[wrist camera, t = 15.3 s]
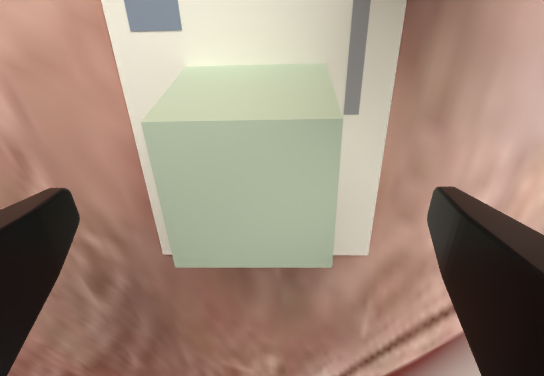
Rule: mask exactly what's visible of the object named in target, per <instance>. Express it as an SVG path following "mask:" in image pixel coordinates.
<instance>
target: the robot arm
mask: <svg viewBox="0 0 544 376" xmlns="http://www.w3.org/2000/svg"><path fill="white" fill-rule="evenodd" d="M79 221H80V217H79V213H78V210H77V207H76V205H75V202H74V199H73V197H72V194H71V192H70V191H69V190H68V189H66V188H49V189H47V190H45V191H42V192H40V193H38V194H36V195H33V196H31V197H29V198H27V199H24V200H22V201H20V202H18V203H15V204H13V205H11V206H9V207H6V208H4V209H2V210H0V376H7V375H8V373H9V371H10V369H11V367H12V365H13V363H14V361H15V359H16V357H17V356H18V354H19V352H20V350H21V348H22V346H23V344H24V342H25V340H26V338H27V336H28V334H29V332H30V330H31V329H32V327H33V325H34V323H35V321H36V319H37V317H38V315H39V313H40V311H41V309H42V307H43V305H44V303H45V302H46V300H47V298H48V296H49V294H50V292H51V290H52V288H53V286H54V284H55V282H56V280H57V278H58V276H59V274H60V271H61V269H62V267H63V264H64V262H65V259H66V256H67V254H68V251H69V249H70V246H71V243H72V241H73V238H74V236H75V233H76V230H77V228H78V225H79ZM427 222H428V227H429V230H430V234H431V238H432V242H433V246H434V249H435V253H436V257H437V261H438V265H439V268H440V272H441V275H442V278H443V281H444V284H445V286H446V289H447V291H448V294H449V296H450V299H451V301H452V304H453V306H454V309H455V311H456V314H457V316H458V319H459V321H460V324H461V326H462V328H463V331H464V333H465V336H466V338H467V341H468V343H469V346H470V348H471V351H472V353H473V356H474V358H475V361H476V363H477V366H478V368H479V371H480V373H481V376H544V235H542V234H541V233H539V232H537V231H535V230H533V229H531V228H529V227H528V226H526V225H524V224H522V223H520V222H518V221H516V220H515V219H513V218H511V217H509V216H507V215H505V214H503V213H502V212H500V211H498V210H496V209H494V208H492V207H490V206H489V205H487V204H485V203H483V202H481V201H479V200H478V199H476V198H474V197H472V196H470V195H468V194H466V193H465V192H463V191H461V190H459V189H457V188H455V187H437V188H435V190H434V191H433V195H432V199H431V203H430V207H429V211H428V216H427Z"/></svg>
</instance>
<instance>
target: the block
mask: <svg viewBox="0 0 544 376" xmlns="http://www.w3.org/2000/svg"><path fill="white" fill-rule="evenodd" d="M141 125H142V129H143V134H144V138H145V142H146V146H147V151H148V155H149V159H150V163H151V168H152V172H153V176H154V180H155V184H156V189H157V193H158V197H159V201H160V206H161V210H162V214H163V218H164V223H165V227H166V231H167V235H168V240H169V244H170V248H171V252H172V257H173V261H174V265H175V268H332V262H333V249H334V235H335V222H336V209H337V196H338V182H339V169H340V156H341V143H342V129H343V116H342V113H341V110H340V107H339V104H338V100H337V97H336V94H335V91H334V88H333V85H332V82H331V79H330V75H329V72H328V69H327V66H326V63H311V64H268V65H226V66H186V67H185V68H184V69H183V70H182V72H181V73H180V74H179V75H178V77H177V78H176V79H175V80H174V81H173V83H172V84H171V85H170V86H169V88H168V89H167V90H166V91H165V93H164V94H163V95H162V96H161V98H160V99H159V100H158V101H157V103H156V104H155V105H154V106H153V108H152V109H151V110H150V111H149V112H148V114H147V115H146V116H145V117H144V119H143V120H142V121H141Z"/></svg>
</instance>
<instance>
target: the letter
mask: <svg viewBox="0 0 544 376" xmlns="http://www.w3.org/2000/svg"><path fill="white" fill-rule="evenodd" d="M101 2H102V6H103V10H104V14H105V18H106V23H107V27H108V31H109V35H110V39H111V43H112V47H113V51H114V55H115V59H116V64H117V68H118V72H119V76H120V80H121V84H122V88H123V92H124V96H125V100H126V105H127V109H128V113H129V117H130V121H131V125H132V129H133V133H134V137H135V142H136V146H137V150H138V154H139V158H140V162H141V166H142V170H143V174H144V178H145V183H146V187H147V191H148V195H149V199H150V203H151V207H152V211H153V215H154V219H155V224H156V228H157V232H158V236H159V240H160V244H161V248H162V252H163V254H167V255H172V252H171V248H170V244H169V240H168V235H167V231H166V227H165V223H164V218H163V214H162V210H161V206H160V201H159V197H158V193H157V189H156V184H155V180H154V176H153V172H152V168H151V163H150V159H149V155H148V151H147V146H146V142H145V138H144V134H143V129H142V125H141V121H142V120H143V119H144V117H145V116H146V115H147V114H148V112H149V111H150V110H151V109H152V108H153V106H154V105H155V104H156V103H157V101H158V100H159V99H160V98H161V96H162V95H163V94H164V93H165V91H166V90H167V89H168V88H169V86H170V85H171V84H172V83H173V81H174V80H175V79H176V78H177V77H178V75H179V74H180V73H181V72H182V70H183V69H184V68H185V67H186V66H226V65H268V64H311V63H326V66H327V69H328V72H329V75H330V79H331V82H332V85H333V88H334V91H335V94H336V97H337V100H338V104H339V107H340V110H341V113H342V116H343V129H342V143H341V156H340V169H339V182H338V196H337V209H336V222H335V235H334V249H333V255H368V252H369V245H370V239H371V232H372V226H373V219H374V212H375V206H376V199H377V193H378V186H379V180H380V173H381V167H382V160H383V154H384V147H385V140H386V134H387V127H388V121H389V114H390V108H391V101H392V95H393V88H394V82H395V75H396V68H397V62H398V55H399V49H400V42H401V36H402V29H403V23H404V16H405V10H406V3H407V0H101Z"/></svg>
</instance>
